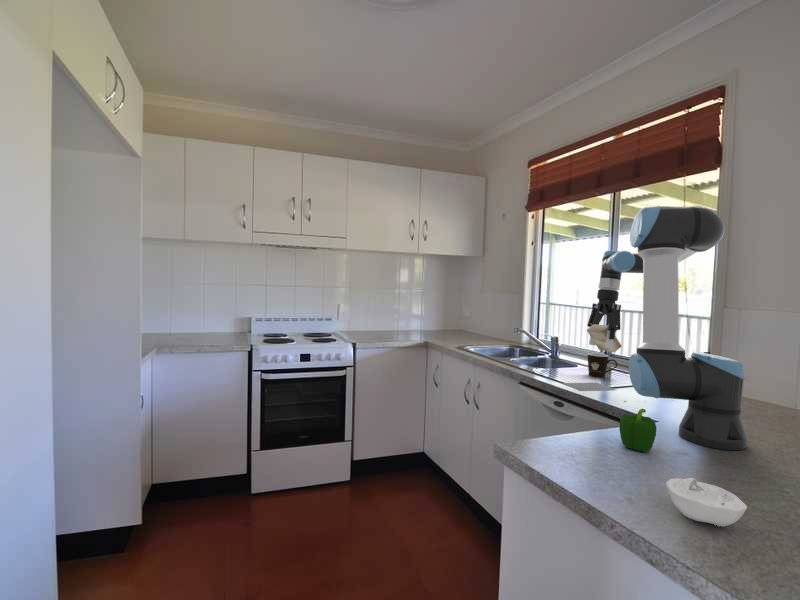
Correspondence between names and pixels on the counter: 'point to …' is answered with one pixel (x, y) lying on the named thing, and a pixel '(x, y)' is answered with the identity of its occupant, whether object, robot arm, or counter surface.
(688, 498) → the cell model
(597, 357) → the coffee mug
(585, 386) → the mat
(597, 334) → the birch block
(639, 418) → the bell pepper
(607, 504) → the counter surface
